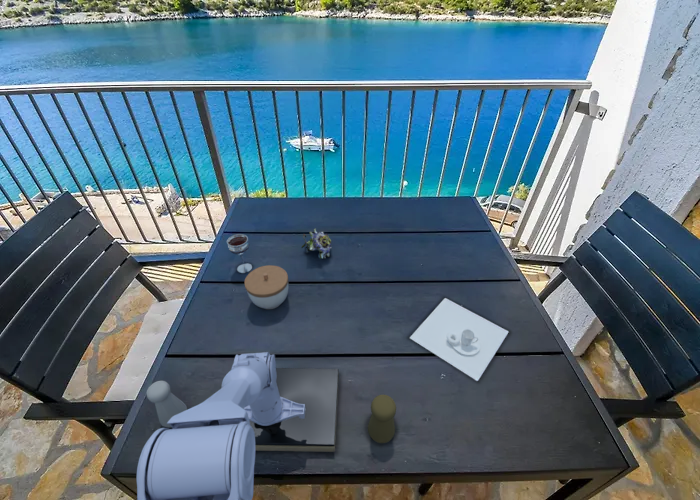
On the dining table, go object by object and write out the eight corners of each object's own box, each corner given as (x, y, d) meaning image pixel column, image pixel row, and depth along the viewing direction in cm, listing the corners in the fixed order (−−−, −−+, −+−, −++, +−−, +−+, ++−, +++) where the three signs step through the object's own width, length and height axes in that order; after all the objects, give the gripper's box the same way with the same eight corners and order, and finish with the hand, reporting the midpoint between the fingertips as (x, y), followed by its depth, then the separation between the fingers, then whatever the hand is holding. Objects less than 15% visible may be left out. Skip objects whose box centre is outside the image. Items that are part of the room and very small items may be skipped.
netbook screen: (334, 446, 72) (334, 444, 71) (209, 444, 72) (208, 442, 72) (338, 370, 86) (338, 368, 86) (234, 369, 87) (233, 367, 86)
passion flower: (327, 267, 128) (329, 259, 116) (298, 262, 127) (297, 253, 116) (332, 238, 131) (335, 228, 120) (304, 233, 130) (303, 222, 119)
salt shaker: (184, 432, 77) (163, 402, 69) (158, 431, 77) (135, 401, 69) (193, 406, 81) (175, 375, 73) (169, 406, 82) (149, 375, 73)
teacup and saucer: (442, 343, 95) (444, 333, 92) (456, 325, 99) (458, 316, 97) (472, 361, 90) (475, 352, 88) (485, 342, 95) (489, 332, 92)
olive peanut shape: (372, 446, 74) (373, 421, 67) (364, 418, 79) (365, 393, 72) (398, 439, 75) (403, 414, 68) (389, 412, 80) (393, 386, 73)
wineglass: (243, 259, 123) (235, 232, 116) (258, 264, 121) (252, 237, 113) (230, 271, 118) (222, 243, 111) (246, 276, 116) (238, 248, 109)
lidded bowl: (296, 308, 105) (292, 282, 98) (254, 321, 101) (246, 294, 94) (285, 281, 114) (281, 256, 107) (246, 292, 110) (239, 266, 103)
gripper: (304, 378, 69) (310, 411, 77) (231, 377, 69) (245, 410, 77) (300, 413, 63) (306, 445, 72) (220, 412, 63) (236, 443, 72)
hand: (274, 429), depth 74 cm, fingers closed, pressing on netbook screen
